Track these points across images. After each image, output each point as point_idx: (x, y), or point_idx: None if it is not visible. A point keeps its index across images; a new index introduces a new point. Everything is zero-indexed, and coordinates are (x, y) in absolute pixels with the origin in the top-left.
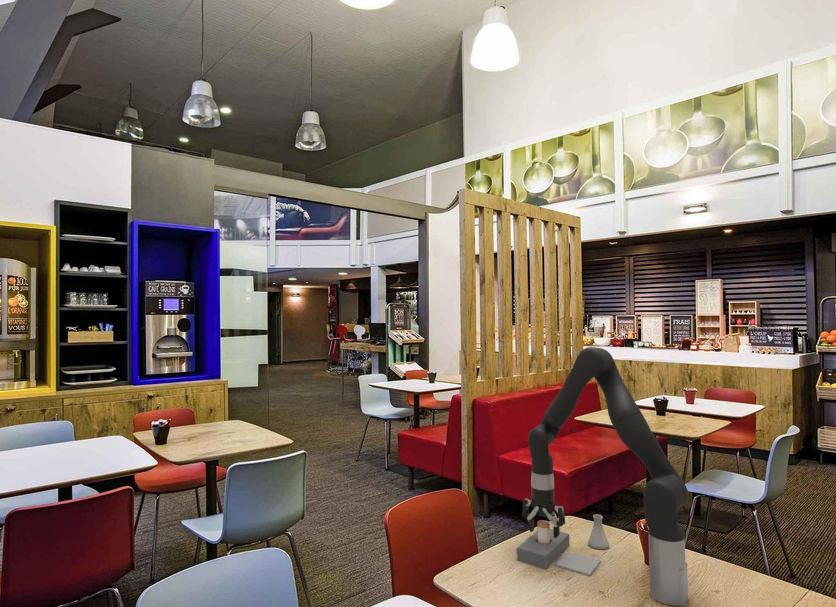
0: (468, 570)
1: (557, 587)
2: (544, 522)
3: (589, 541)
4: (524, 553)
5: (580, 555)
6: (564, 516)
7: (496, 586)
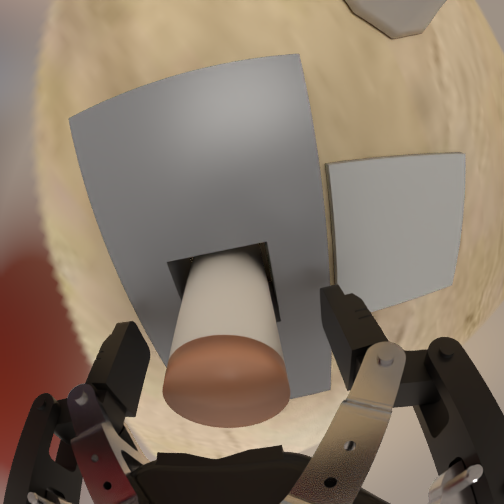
0: (168, 443)
1: None
2: (232, 395)
3: (369, 6)
4: None
5: (398, 169)
6: (488, 398)
7: (260, 447)
